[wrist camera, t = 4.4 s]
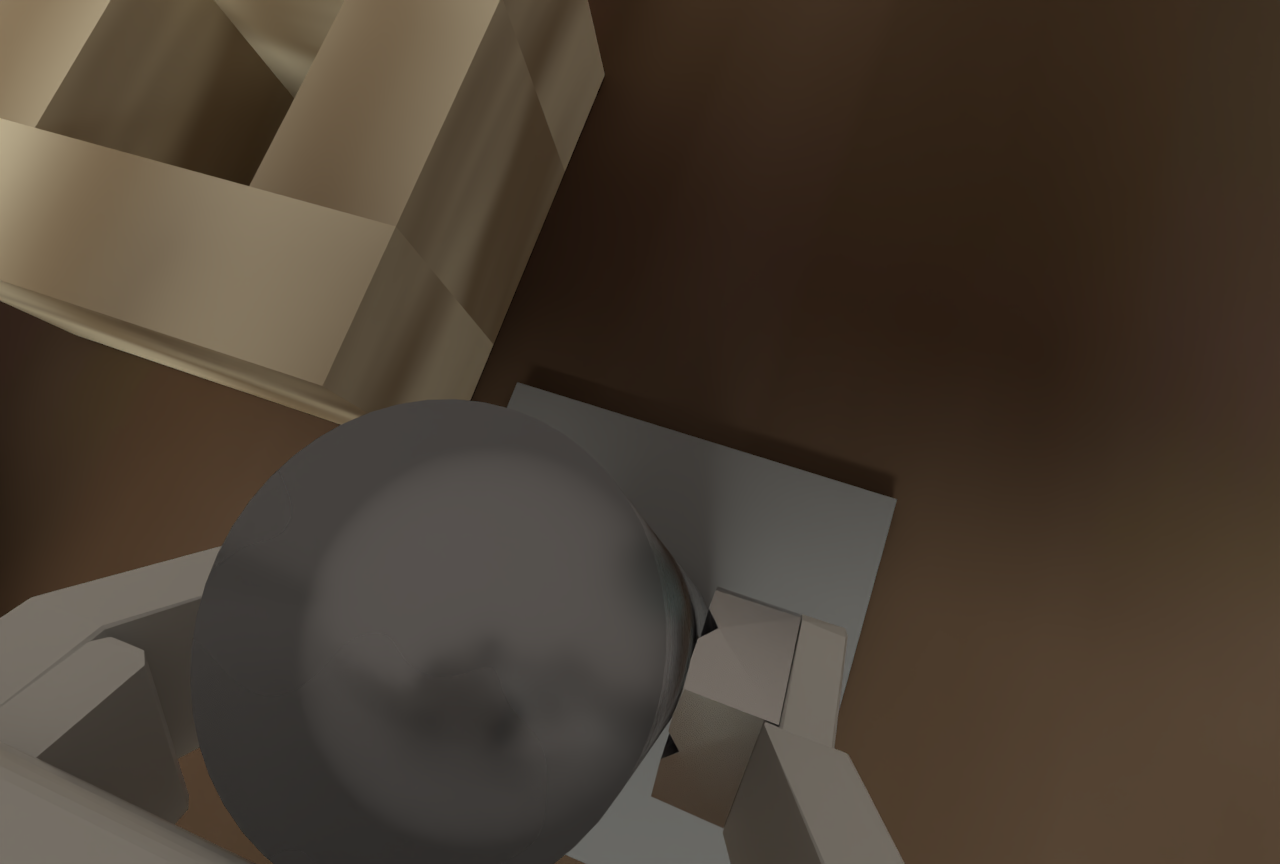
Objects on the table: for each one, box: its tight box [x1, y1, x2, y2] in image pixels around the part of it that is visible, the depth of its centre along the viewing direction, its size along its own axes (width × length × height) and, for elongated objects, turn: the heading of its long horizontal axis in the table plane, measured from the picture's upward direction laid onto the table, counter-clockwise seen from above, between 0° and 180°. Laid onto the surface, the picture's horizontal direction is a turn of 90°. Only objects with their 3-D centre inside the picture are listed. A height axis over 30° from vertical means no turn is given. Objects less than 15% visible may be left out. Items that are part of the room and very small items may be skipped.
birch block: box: [0, 0, 605, 425], centre depth 15 cm, size 10×10×5 cm
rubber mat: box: [507, 382, 897, 864], centre depth 14 cm, size 8×8×1 cm
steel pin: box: [190, 399, 708, 864], centre depth 9 cm, size 3×3×10 cm
